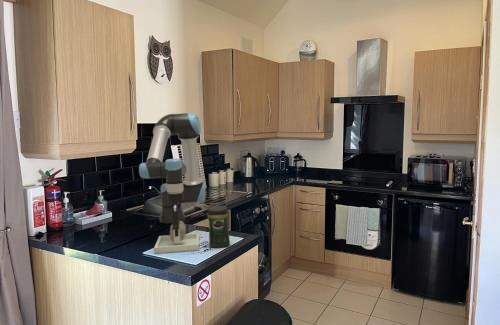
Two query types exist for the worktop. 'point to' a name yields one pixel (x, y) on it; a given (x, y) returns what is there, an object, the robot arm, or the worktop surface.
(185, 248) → the holder dish
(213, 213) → the coffee jar
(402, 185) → the worktop surface
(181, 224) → the garlic bulb
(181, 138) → the robot arm
